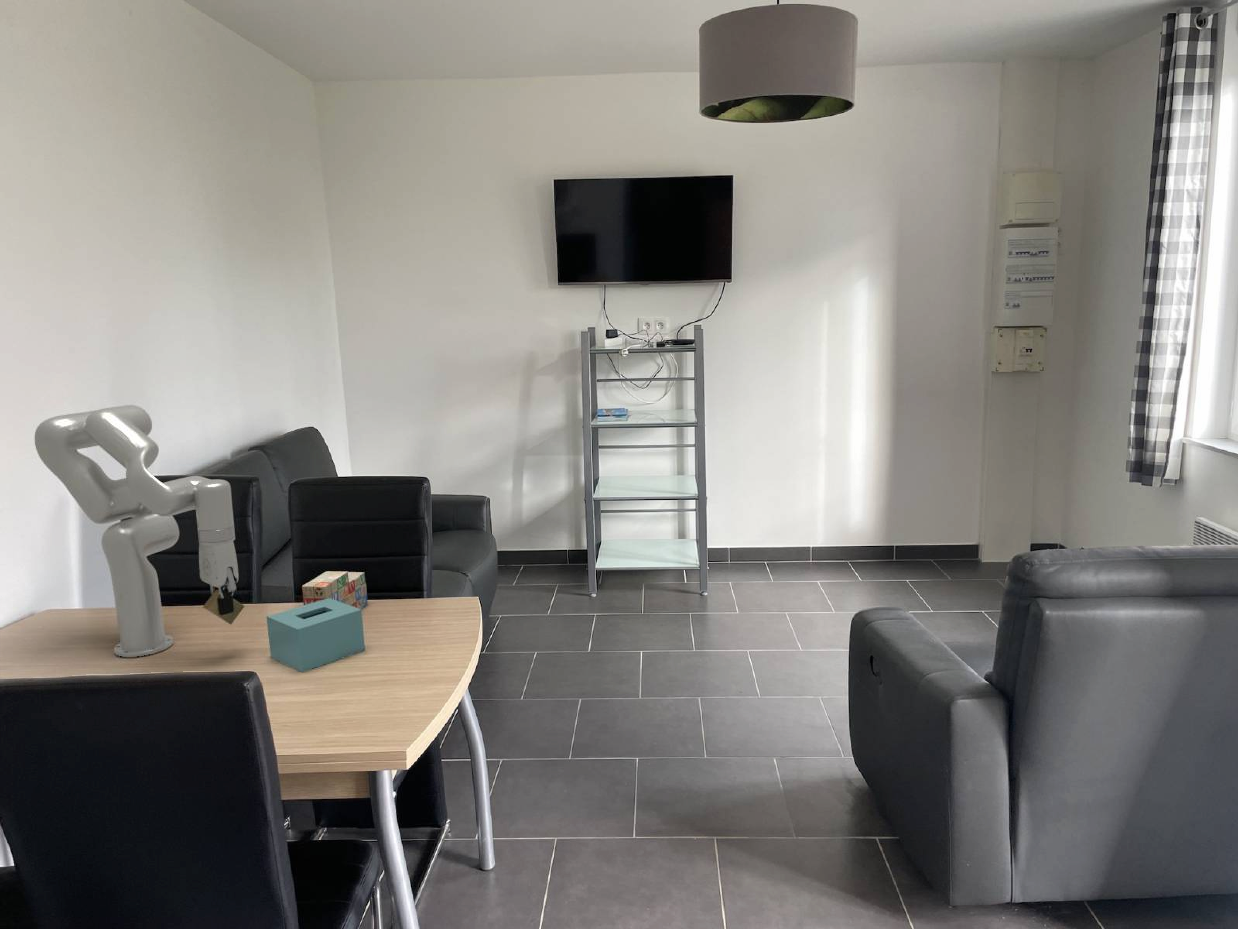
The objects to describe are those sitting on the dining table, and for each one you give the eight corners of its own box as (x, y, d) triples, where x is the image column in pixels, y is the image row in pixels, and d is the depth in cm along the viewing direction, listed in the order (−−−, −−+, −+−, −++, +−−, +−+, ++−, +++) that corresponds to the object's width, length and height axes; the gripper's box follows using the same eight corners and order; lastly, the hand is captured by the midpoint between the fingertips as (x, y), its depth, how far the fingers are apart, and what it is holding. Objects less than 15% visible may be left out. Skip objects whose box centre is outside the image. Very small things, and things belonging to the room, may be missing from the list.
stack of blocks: (346, 604, 242) (343, 560, 240) (368, 605, 241) (364, 561, 239) (305, 632, 222) (301, 585, 219) (329, 633, 220) (324, 586, 218)
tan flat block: (226, 622, 206) (202, 607, 201) (239, 603, 208) (216, 588, 203) (231, 624, 204) (207, 609, 200) (244, 606, 206) (221, 590, 202)
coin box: (270, 657, 206) (266, 616, 204) (332, 637, 217) (329, 598, 216) (302, 672, 196) (297, 629, 195) (364, 650, 208) (361, 609, 207)
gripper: (184, 532, 203) (192, 608, 206) (216, 544, 193) (223, 624, 196) (217, 525, 209) (223, 600, 212) (249, 537, 198) (256, 615, 202)
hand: (223, 611), depth 204 cm, fingers closed on tan flat block, 2 cm apart
